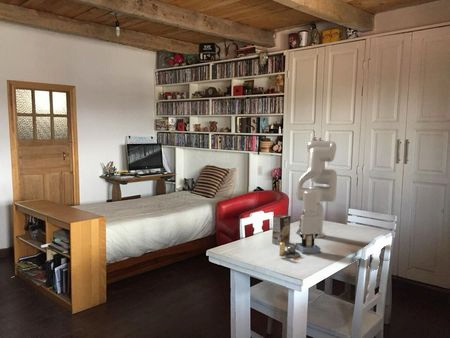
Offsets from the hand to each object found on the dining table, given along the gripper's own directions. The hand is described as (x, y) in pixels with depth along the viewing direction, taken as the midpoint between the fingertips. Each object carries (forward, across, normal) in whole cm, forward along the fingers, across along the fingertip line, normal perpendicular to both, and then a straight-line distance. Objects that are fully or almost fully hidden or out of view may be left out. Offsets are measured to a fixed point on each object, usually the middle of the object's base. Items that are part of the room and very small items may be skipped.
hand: (307, 245), depth 214 cm
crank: (+2, -15, -8) cm, 17 cm away
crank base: (+3, -12, -7) cm, 14 cm away
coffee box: (+3, -10, +16) cm, 19 cm away
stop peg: (+1, 0, 0) cm, 1 cm away
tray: (+3, 0, 0) cm, 3 cm away
